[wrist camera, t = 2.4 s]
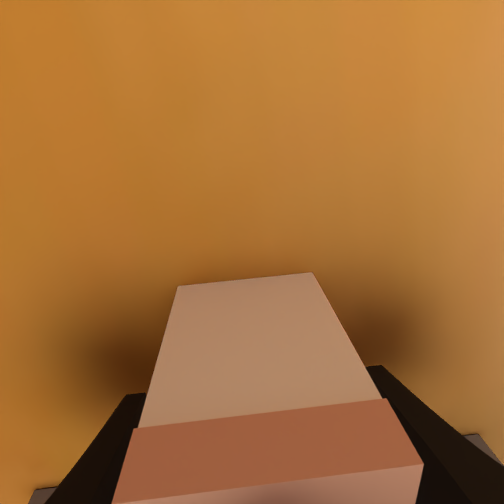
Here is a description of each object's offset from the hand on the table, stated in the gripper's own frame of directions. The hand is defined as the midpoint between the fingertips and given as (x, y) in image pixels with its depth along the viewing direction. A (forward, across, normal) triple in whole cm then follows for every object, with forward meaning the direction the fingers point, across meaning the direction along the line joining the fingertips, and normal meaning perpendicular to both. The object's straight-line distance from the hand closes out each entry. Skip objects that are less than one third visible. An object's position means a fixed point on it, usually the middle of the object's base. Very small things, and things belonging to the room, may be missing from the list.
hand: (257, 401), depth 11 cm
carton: (+2, 0, 0) cm, 2 cm away
